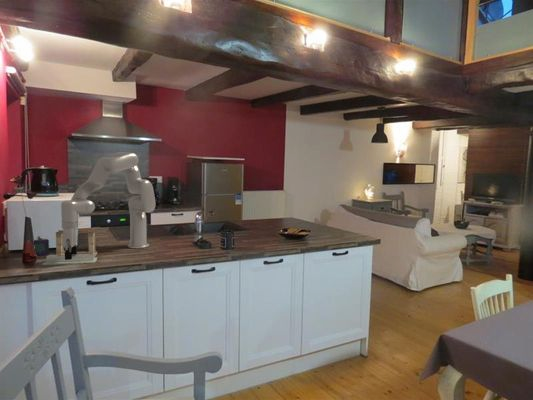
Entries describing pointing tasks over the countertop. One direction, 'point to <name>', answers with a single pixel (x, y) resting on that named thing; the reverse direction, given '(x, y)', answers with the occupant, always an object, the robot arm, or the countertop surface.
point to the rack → (91, 251)
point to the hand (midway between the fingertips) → (70, 256)
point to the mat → (69, 262)
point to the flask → (41, 246)
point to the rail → (74, 258)
